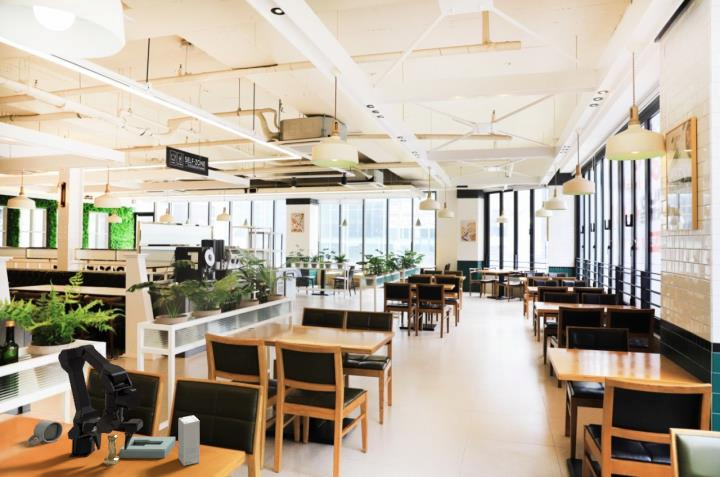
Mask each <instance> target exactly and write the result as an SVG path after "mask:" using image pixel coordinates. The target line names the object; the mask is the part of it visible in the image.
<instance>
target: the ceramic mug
mask: <svg viewBox="0 0 720 477" xmlns="http://www.w3.org/2000/svg"><path fill="white" fill-rule="evenodd" d="M63 429H64V428H63V425H62V423H61V422H59V421H56V420H49V419H45V420H41V421H39V422H37V423H36V425H35V427H34V429H33V434H32V435H31V436H30V437H29V438H28V439H27V440H26V441H27V442H26V443H27V444H28V445H29V446H30V445H31V446H35V445H37V444H39V443H41V442H45V443H48V444H49V443H50V444H51V443H54V442H56V441H57V440H59V438H60V437H61V436H62V435H63V432H64V430H63ZM34 439H35V440H34Z"/></svg>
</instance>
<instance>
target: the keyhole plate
mask: <svg viewBox="0 0 720 477" xmlns="http://www.w3.org/2000/svg"><path fill="white" fill-rule="evenodd" d="M175 446H176V436H132V438H131V440H130V442H129V445H128V447H127V449H126V450H124V445H122V446H121V447H120V448H119V459H166V457H167V456H168V455H169V453H170V452H171V451H172V450H173V449H174V447H175Z"/></svg>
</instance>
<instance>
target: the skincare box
mask: <svg viewBox="0 0 720 477" xmlns="http://www.w3.org/2000/svg"><path fill="white" fill-rule="evenodd" d="M177 420H178V421H177V422H178V423H177V424H178V427H177V428H178V429H177V430H178V433H177V434H178V438H177V440H178V442H177V443H178V444H177V445H178V446H177V449H178V450H177V454H178V455H177V457H178V460H179V462H180V463H181V464H182V466H184V467H185V466H188V465H196V464H200V460H201V459H200V456H201V455H200V443H201V441H200V423H201V422H200V421H201V420H199V419H198V417H196V416H195V415H188V416H183V417H179V418H178V419H177Z"/></svg>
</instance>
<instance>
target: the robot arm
mask: <svg viewBox="0 0 720 477" xmlns="http://www.w3.org/2000/svg"><path fill="white" fill-rule="evenodd" d="M57 359H58V361H59V364H60V367H61V369H63V371H65V372H66V373H67V376H68V380H69V384H70V389H71V394H72V399H73V403H74V404H73V405H74V408H75V414H74V416H73V419H72V427H71V428H70V429H69V431H68V432H67V437H68V439H69V440H71V453H70V454H69V455H68V456H69V457H88V456H90V455H91V454H93V452H94V451H95V450H97V451H100V450H101V446H102V434H106V435H110V434H111V433H112V432H113V431H114V430H116V429H124V430H125V432H124V444H123V446H124V450H126V449H127V447H128V445H129V442H130V440H131V438H132V437H134V436H133V435H134V434H135V433H136V432H139V431H140V430H141V429H142V428H143V426H144V421H143V420H142V418H131V419H130V420H128V421H124V419H125V417H123V415H124V414H123V413H124V412H123V411H124V409H125V410H128V411H133V410H136V409H137V408H138V407H140V404H141V402H142V398H141V395H140V393H137V389H136V388H133V384H132V383H133V382H132V381H131V379H130V377H129V374H128V372H127V370H126V368H124V367H122V366H120V365H119V364H113V363H112V362H110V361H109V360H108V359H107V358H106V357H105V356H104V355H103V354H102V353H100V352H99V351H98V350H97V349H96V348H95V346H94V344H92V343H91V344H90V343H87V344H82V345H80V346H76V347H70V348H64V349H62V350H61V351H60V353H59V354H58V356H57ZM86 363H87V364H88V365H89V366H90V367H92V369H93V370H95V371H96V373H98V375H99V381H100V382H101V383H102V384H103V386H104V387H103V388H102V389H101V391H102V392H104V393H105V398H104V400H105V401H104V409H103V411H102V415H101V417H100V411H99V409H95V408H93V407H92V405H91V400H90V399H91V398H90V396H89V391H88V387H87V383H86V378H85V377H86V376H85V374H84V366H85V364H86ZM123 421H124V422H123ZM95 447H96V448H95Z"/></svg>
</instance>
